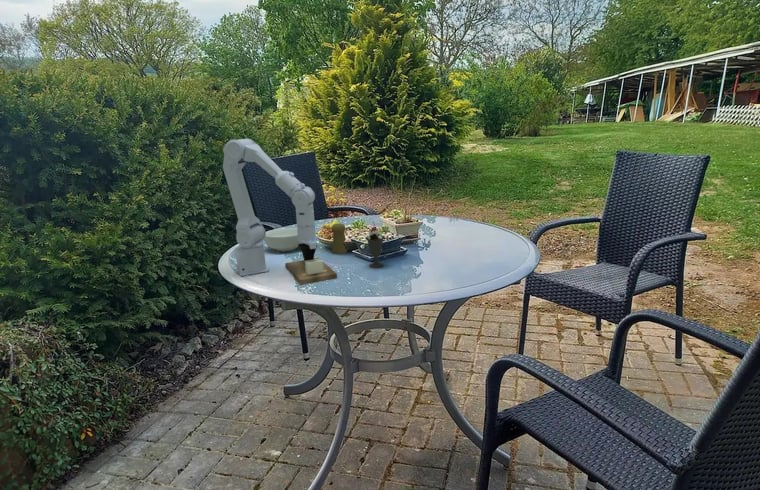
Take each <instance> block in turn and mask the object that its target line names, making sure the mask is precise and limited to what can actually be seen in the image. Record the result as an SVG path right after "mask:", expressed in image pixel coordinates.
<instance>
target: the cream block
mask: <svg viewBox="0 0 760 490" xmlns="http://www.w3.org/2000/svg"><path fill="white" fill-rule="evenodd" d="M323 262H324V261H323V260H322V259H321V258H319V259H314V260H308V261H305V269H306V273H307V274H308V275H310V274H316V273H322V272H323Z"/></svg>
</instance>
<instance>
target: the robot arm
mask: <svg viewBox="0 0 760 490" xmlns="http://www.w3.org/2000/svg"><path fill="white" fill-rule="evenodd" d="M222 152H223V154H224V155H223V163H222V170H223V172H224V176H225V179H226V184H227V185H228V190H229V193H230V197H231V199H232V203H233V207H234V209H235V213H236V217H237V223H236V226H235V230H236V236H235V238H236V241H237V242H236V243H238V245H239V247H235V250H234V252H235V260H236V269H237V272H238V273H239V275H240V277H243V276H250V275H255V274H261V273H266V272H269V271H270V270H269V268H268V266H267V264H266V256H265V255H266V254H265V245H264V238H265V235H266V232H267V231H266V229H265V227H264V226H263V224H262V223H261V220H260V219H259V218H258V217H257V216H256V215H255V212H254V209H253V205H252V202H251V199H250V195H249V191H248V188H247V184H246V181H245V177H244V174H243V171H242V170H243V168H244V167H245V165H246V164H247V162H251V163H252V162H253V163H256V164H257V165H258V166H260V167H261V168H262V169H263V170H264V171H266V172H267V173H268V174H269V175H270V176H271V177H273V178H274V179H275V180H274V181H275V185H276V186H277V187H279V189H281V190H282V191H283V192H284V193H285V194H286V195H287V196H288V197H289V198H290V199H291V202H292V204H293V206H294V207H295V218H296V228H297V231H298V242H301V243H302V244H298V248H299V249H300V252H301V254H302V258H303V260H304V261H308V260H314V257H315V253H316V250H317V249H318V244H317V240H320V236H319V235H316V224H315V223H316V222H315V210H314V201H315V199H316V193H315V191H314V190H313V189H312V187H310V186H306V184H305V183H302V182H301V181H300V180H299V179H297V178H296V176H295V173H294V172H293V171H288V170H282V169H281V167H280V166H278V164H276V162H275V161H273V160H272V159H271V158H270V156H269V155H268V154H267V153H266V152H264V150H263V149H262V148H261V146H260V145H258V143H255V141H254V140H253V139H251V138H241V139H230V140H228V141H227V142H226V144H225V145H224V146H223V149H222Z"/></svg>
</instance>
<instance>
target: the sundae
mask: <svg viewBox="0 0 760 490" xmlns="http://www.w3.org/2000/svg"><path fill="white" fill-rule="evenodd" d="M372 224H373V227H371V230H370V231H369V233H368V235H367V236H366V237H365V238H364V240H367V245H368V251H369V253H370V254H371V256H373V257H374V258H373V259H374V260H373V263H370V264H369V265H368V266H369V267H370V268H372V269H380V268H383V267H384V264H383V263H380V262H379V259H378V257H379V256H380V255H381V254H382V253H383V252H382V251H383V242H384V240H385V239H386V236H384V235H383V234H381V233H380V232H379V230H378V229H377V228H376V227H375V226H376V225H375V222H374V221H373V222H372Z"/></svg>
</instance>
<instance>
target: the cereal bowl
mask: <svg viewBox="0 0 760 490" xmlns="http://www.w3.org/2000/svg"><path fill="white" fill-rule="evenodd" d="M263 242H264V243H265V245H266V246H267V247H268V248H271V249H274V250H276V251H278V252H290V251H295V250H296V249H297V248H299V246H298V244H302V243H301V242H298V231H297V227H282V228H274V229H272V230H268V231H266V235H265V238H264V239H263Z"/></svg>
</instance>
